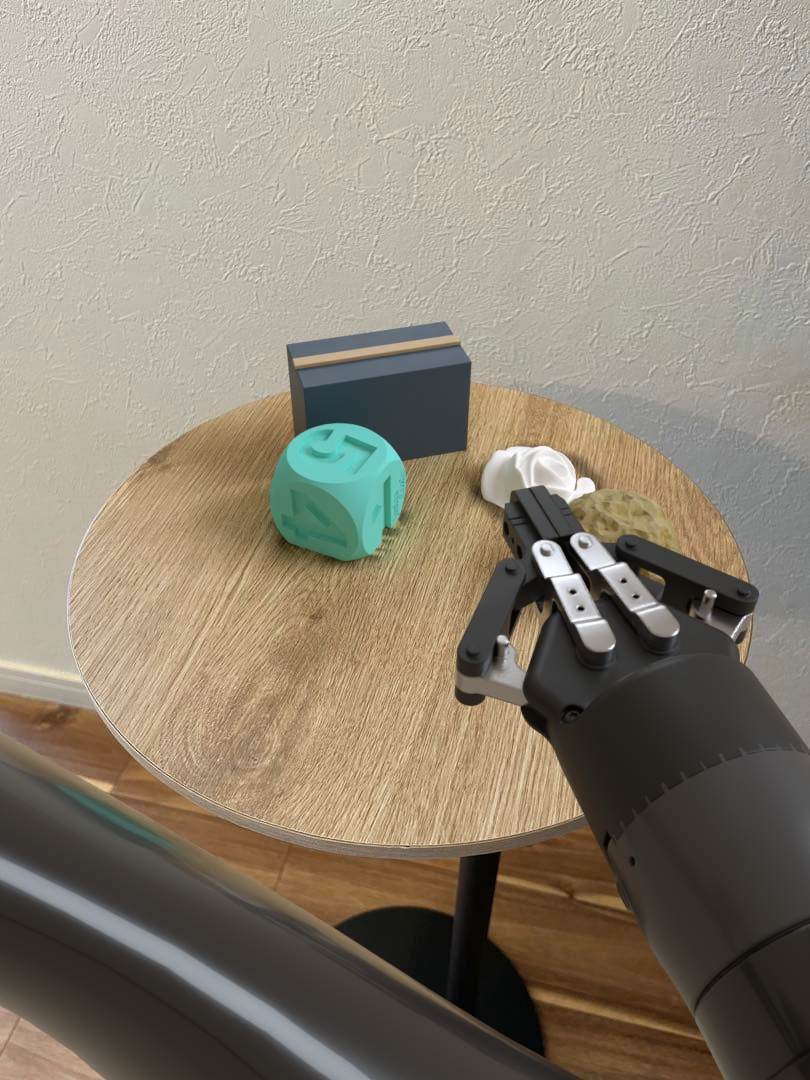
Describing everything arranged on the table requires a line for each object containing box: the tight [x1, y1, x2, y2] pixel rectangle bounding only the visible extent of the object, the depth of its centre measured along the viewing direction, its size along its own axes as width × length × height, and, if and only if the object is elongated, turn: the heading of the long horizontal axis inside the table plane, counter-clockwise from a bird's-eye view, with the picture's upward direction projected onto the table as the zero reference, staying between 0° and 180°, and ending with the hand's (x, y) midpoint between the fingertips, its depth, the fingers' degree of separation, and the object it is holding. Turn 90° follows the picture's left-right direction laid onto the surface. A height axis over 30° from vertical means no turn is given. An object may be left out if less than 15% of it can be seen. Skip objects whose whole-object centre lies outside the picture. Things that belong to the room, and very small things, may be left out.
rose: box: [480, 445, 596, 510], centre depth 80 cm, size 10×4×10 cm
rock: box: [568, 487, 683, 585], centre depth 71 cm, size 10×11×10 cm
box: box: [286, 321, 473, 462], centre depth 83 cm, size 14×7×10 cm, turn 106°
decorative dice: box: [269, 423, 407, 562], centre depth 76 cm, size 8×8×8 cm
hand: (523, 502), depth 44 cm, fingers closed
